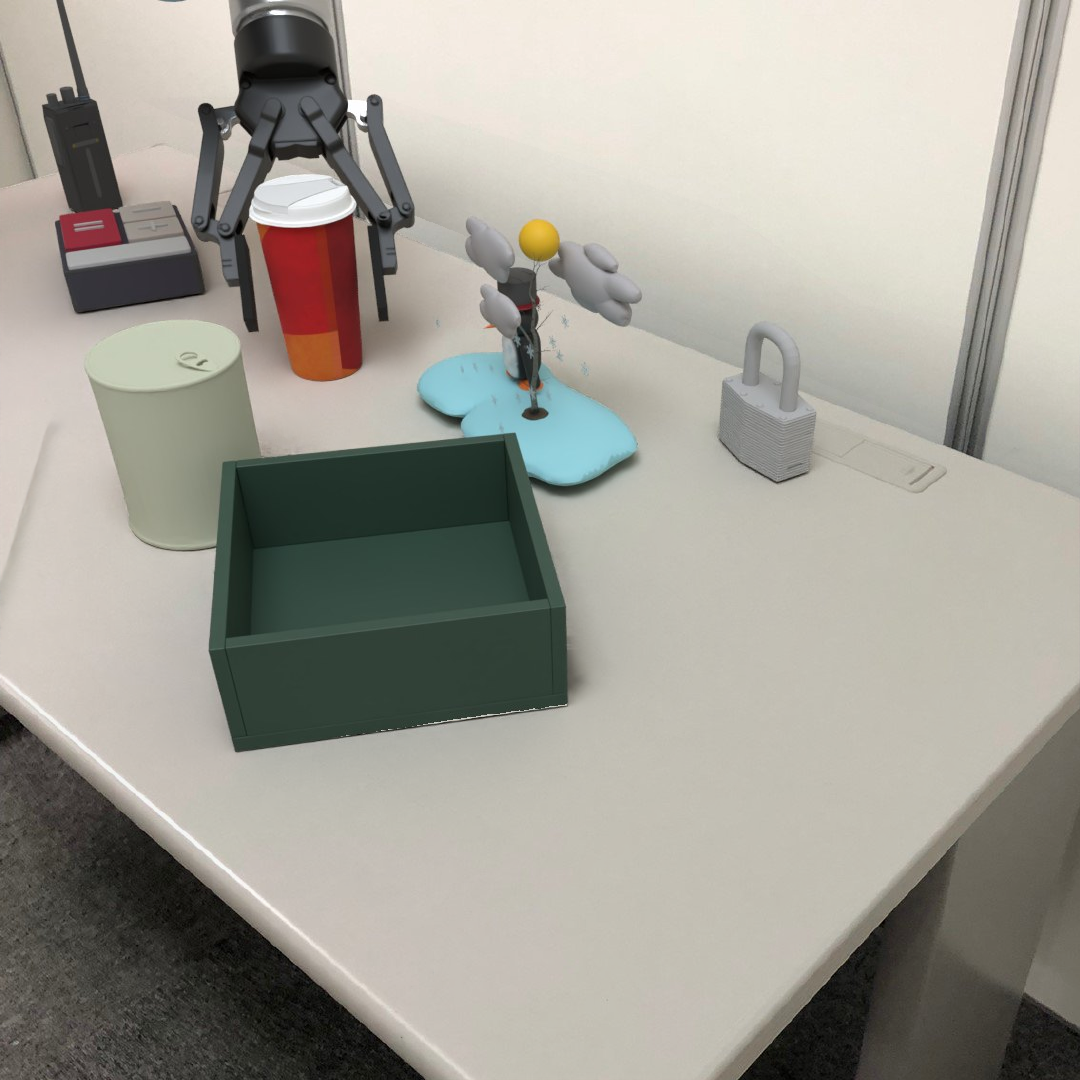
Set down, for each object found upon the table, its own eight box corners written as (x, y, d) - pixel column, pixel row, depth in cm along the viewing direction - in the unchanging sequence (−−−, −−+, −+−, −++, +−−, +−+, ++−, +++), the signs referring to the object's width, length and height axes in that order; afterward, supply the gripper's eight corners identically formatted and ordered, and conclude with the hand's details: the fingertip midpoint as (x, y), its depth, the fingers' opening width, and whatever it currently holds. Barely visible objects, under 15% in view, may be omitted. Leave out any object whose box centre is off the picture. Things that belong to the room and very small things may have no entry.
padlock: (710, 441, 88) (719, 312, 82) (755, 426, 89) (767, 299, 83) (770, 487, 83) (784, 353, 77) (816, 471, 85) (833, 339, 79)
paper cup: (348, 334, 101) (325, 164, 92) (393, 369, 96) (372, 193, 87) (260, 359, 97) (227, 185, 89) (302, 397, 92) (271, 217, 84)
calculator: (174, 195, 115) (196, 244, 104) (184, 240, 118) (206, 292, 107) (51, 211, 112) (60, 264, 101) (64, 257, 114) (74, 313, 103)
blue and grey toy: (401, 390, 93) (379, 195, 84) (522, 357, 98) (515, 167, 88) (528, 515, 80) (519, 300, 71) (661, 470, 85) (670, 262, 75)
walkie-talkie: (109, 197, 125) (54, -17, 113) (125, 205, 123) (72, -11, 111) (65, 209, 122) (4, -8, 110) (81, 218, 121) (21, -2, 108)
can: (204, 567, 76) (161, 395, 68) (98, 525, 79) (46, 357, 72) (302, 496, 82) (272, 332, 74) (199, 460, 85) (161, 300, 78)
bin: (234, 752, 63) (207, 650, 59) (243, 556, 76) (222, 461, 72) (568, 706, 66) (566, 605, 62) (520, 525, 79) (515, 432, 75)
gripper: (425, 59, 99) (461, 325, 96) (147, 72, 95) (177, 349, 93) (425, 3, 91) (464, 290, 89) (124, 15, 88) (156, 314, 85)
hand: (317, 320), depth 91 cm, fingers open, 9 cm apart
